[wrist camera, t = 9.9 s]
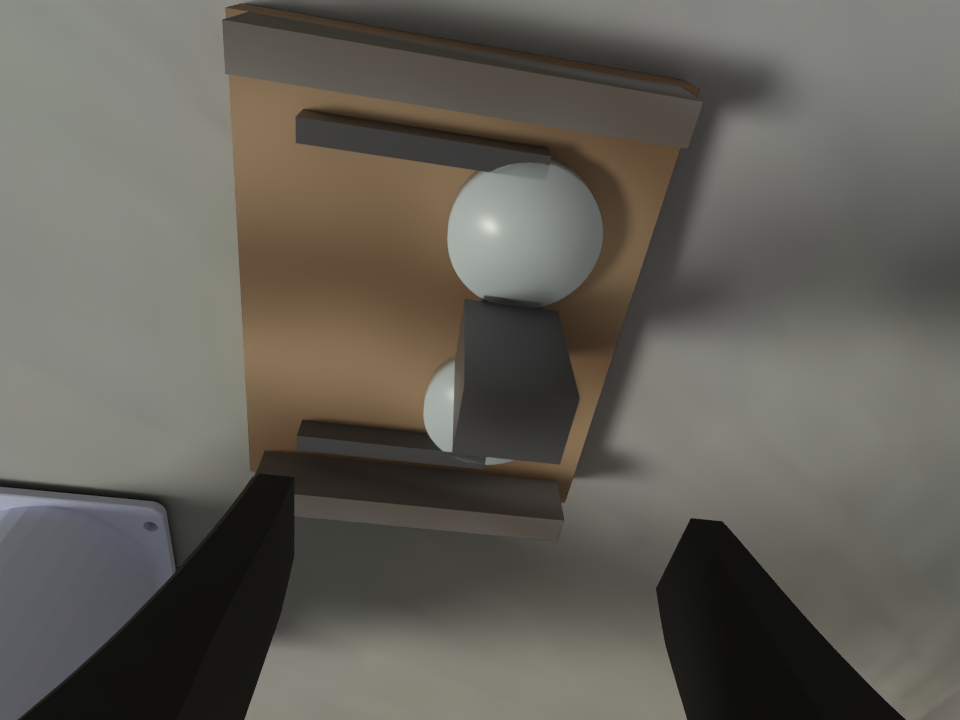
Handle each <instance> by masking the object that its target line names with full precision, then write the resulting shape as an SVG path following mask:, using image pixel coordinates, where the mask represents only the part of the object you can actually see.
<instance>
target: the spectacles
mask: <svg viewBox="0 0 960 720" xmlns="http://www.w3.org/2000/svg"><path fill="white" fill-rule="evenodd" d="M295 121H296V143H298V144H305V145H311V146H318V147H325V148H331V149H338V150H345V151H351V152H358V153H364V154H371V155H378V156H384V157H391V158H398V159H404V160H411V161H417V162H424V163H431V164H437V165H444V166H450V167H457V168H464V169H470V170H477V171H476V172H474V173H473V174H472V175H471V176H470V177H469V178H468V179H467V180H466V181H465V182H464V184H463V185H462V187H461V188H460V190H459V191H458V193H457V195H456V197H455V199H454V201H453V204H452V207H451V210H450V214H449V221H448V237H447V242H448V251H449V256H450V260H451V262H452V265H453V267H454V269H455V271H456V273H457V275H458V276H459V278H460V279H461V281H462V282H463V283H464V284H465V285H466V286H467V287H468V288H469V289H470V290H471V291H472V292H473V293H474V294H476V295H477V296H479V297H480V301H475V300H467V299H465V300H464V306H463V313H462V319H461V325H460V331H459V337H458V344H457V350H456V355H455V356H453V357H451V358H449V359H448V360H447V361H445V362H444V363H443V364H441V365H440V366H439V367H438V368H437V369H436V371H435V372H434V373H433V375H432V376H431V378H430V380H429V382H428V384H427V387H426V392H425V400H424V413H423V417H424V424H425V427H426V430H427V432H428V433H421V432H412V431H402V430H393V429H384V428H375V427H365V426H356V425H347V424H338V423H328V422H319V421H310V420H302V422H301V425H300V427H299V430H298V433H297V450H299V451H309V452H318V453H328V454H338V455H347V456H357V457H367V458H377V459H386V460H396V461H406V462H415V463H425V464H435V465H444V466H454V467H464V468H473V469H483V470H484V466H485V465H495V464H502V463H506V462H510V461H513V460H519V461H529V462H538V463H548V464H557V465H560V463H561V460H562V456H563V453H564V450H565V446H566V443H567V440H568V436H569V433H570V430H571V426H572V423H573V420H574V417H575V413H576V410H577V407H578V403H579V400H580V397H579V393H578V389H577V385H576V381H575V377H574V373H573V369H572V365H571V361H570V357H569V353H568V349H567V345H566V341H565V337H564V333H563V329H562V325H561V321H560V317H559V313H558V311H552V310H544V309H540V308H541V307H542V306H546V305H549V304H552V303H554V302H556V301H559V300H560V299H562V298H564V297H566V296H567V295H569V294H570V293H572V292H573V291H574V290H575V289H577V288H578V287H579V286H580V285H581V284H582V283H583V282H584V281H585V279H586V278H587V277H588V276H589V274H590V273H591V271H592V270H593V268H594V266H595V264H596V262H597V260H598V257H599V254H600V251H601V247H602V241H603V223H602V218H601V214H600V211H599V208H598V205H597V203H596V201H595V199H594V197H593V195H592V193H591V191H590V190H589V188H588V186H587V184H586V183H585V182H584V180H583V179H582V178H581V177H580V176H579V175H578V174H577V173H576V172H575V171H574V170H573V169H571V168H570V167H569V166H567V165H566V164H564V163H562V162H560V161H559V160H556V159H554V158H551V155H550V152H549V150H548V147H543V146H536V145H530V144H523V143H517V142H511V141H504V140H498V139H491V138H485V137H479V136H472V135H466V134H460V133H453V132H447V131H440V130H434V129H428V128H421V127H415V126H408V125H402V124H396V123H389V122H383V121H376V120H370V119H364V118H357V117H351V116H345V115H338V114H332V113H325V112H319V111H313V110H306V109H303V110H302V111H301V112H300V113H299V114H298V115H297V116H296V117H295Z"/></svg>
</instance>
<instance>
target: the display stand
mask: <svg viewBox="0 0 960 720" xmlns="http://www.w3.org/2000/svg"><path fill="white" fill-rule="evenodd" d="M225 9H226V19H223V20H222V22H223V40H224V57H225V74H229V83H230V102H231V120H232V139H233V157H234V176H235V194H236V213H237V231H238V250H239V268H240V287H241V305H242V323H243V342H244V360H245V379H246V397H247V416H248V434H249V453H250V471H253V472H256V474H255V475H257V474H259V473H260V474H269V475H279V476H288V477H295V489H294V516H295V517H305V518H316V519H326V520H337V521H347V522H358V523H369V524H379V525H390V526H400V527H411V528H421V529H432V530H443V531H453V532H464V533H474V534H485V535H495V536H506V537H517V538H527V539H538V540H548V541H558V538H559V535H560V532H561V529H562V526H563V523H564V517H563V511H562V505H561V503H565V501H566V498H567V495H568V492H569V489H570V486H571V482H572V479H573V476H574V473H575V470H576V467H577V464H578V461H579V458H580V455H581V452H582V449H583V446H584V443H585V440H586V437H587V433H588V430H589V427H590V424H591V421H592V418H593V415H594V412H595V409H596V406H597V403H598V400H599V397H600V394H601V391H602V387H603V384H604V381H605V378H606V375H607V372H608V369H609V366H610V363H611V360H612V357H613V354H614V351H615V348H616V345H617V341H618V338H619V335H620V332H621V329H622V326H623V323H624V320H625V317H626V314H627V311H628V308H629V305H630V302H631V299H632V295H633V292H634V289H635V286H636V283H637V280H638V277H639V274H640V271H641V268H642V265H643V262H644V259H645V256H646V253H647V250H648V246H649V243H650V240H651V237H652V234H653V231H654V228H655V225H656V222H657V219H658V216H659V213H660V210H661V207H662V204H663V200H664V197H665V194H666V191H667V188H668V185H669V182H670V179H671V176H672V173H673V170H674V167H675V164H676V161H677V158H678V154H679V151H680V148H685V149H688V147H689V144H690V141H691V138H692V135H693V132H694V129H695V126H696V123H697V120H698V117H699V114H700V111H701V108H702V105H703V101H701V100H700V99H698V98H697V96H698V93H699V89H698V88H696V87H695V86H693V85H691V84H690V83H688V82H686V81H684V80H679V79H673V78H667V77H661V76H656V75H650V74H644V73H638V72H633V71H627V70H621V69H615V68H610V67H604V66H598V65H592V64H587V63H581V62H575V61H569V60H564V59H558V58H552V57H546V56H541V55H535V54H529V53H523V52H518V51H512V50H506V49H501V48H495V47H489V46H483V45H478V44H472V43H466V42H460V41H455V40H449V39H443V38H437V37H432V36H426V35H420V34H414V33H409V32H403V31H397V30H391V29H386V28H380V27H374V26H368V25H363V24H357V23H351V22H345V21H340V20H334V19H328V18H323V17H317V16H311V15H305V14H300V13H294V12H288V11H282V10H277V9H271V8H265V7H259V6H254V5H248V4H242V3H241V4H237V5H233V6H230V7H226V8H225ZM303 109H306V110H313V111H319V112H325V113H332V114H338V115H345V116H351V117H357V118H364V119H370V120H376V121H383V122H389V123H396V124H402V125H408V126H415V127H421V128H428V129H434V130H440V131H447V132H453V133H460V134H466V135H472V136H479V137H485V138H491V139H498V140H504V141H511V142H517V143H523V144H530V145H536V146H543V147H548V150H549V152H550V155H551V158H554V159H556V160H559V161H560V162H562V163H564V164H566V165H567V166H569V167H570V168H571V169H573V170H574V171H575V172H576V173H577V174H578V175H579V176H580V177H581V178H582V179H583V180H584V182H585V183H586V184H587V186H588V188H589V190H590V191H591V193H592V195H593V197H594V199H595V201H596V203H597V205H598V208H599V211H600V214H601V218H602V223H603V241H602V247H601V251H600V254H599V257H598V260H597V262H596V264H595V266H594V268H593V270H592V271H591V273H590V274H589V276H588V277H587V278H586V279H585V281H584V282H583V283H582V284H581V285H580V286H579V287H578V288H577V289H575V290H574V291H573V292H572V293H570V294H569V295H567V296H566V297H564V298H562V299H560V300H559V301H556V302H554V303H552V304H549V305H546V306H542V307H541V308H540V309H544V310H552V311H558V313H559V317H560V321H561V325H562V329H563V333H564V337H565V341H566V345H567V349H568V353H569V357H570V361H571V365H572V369H573V373H574V377H575V381H576V385H577V389H578V393H579V397H580V400H579V403H578V407H577V410H576V413H575V417H574V420H573V423H572V426H571V430H570V433H569V436H568V440H567V443H566V446H565V450H564V453H563V456H562V460H561V463H560V465H557V464H548V463H538V462H529V461H519V460H513V461H510V462H506V463H502V464H495V465H485V466H484V470H483V469H473V468H464V467H454V466H444V465H435V464H425V463H415V462H406V461H396V460H386V459H377V458H367V457H357V456H347V455H338V454H328V453H318V452H309V451H299V450H297V433H298V430H299V427H300V425H301V422H302V420H310V421H319V422H328V423H338V424H347V425H356V426H365V427H375V428H384V429H393V430H402V431H412V432H421V433H428V432H427V430H426V427H425V424H424V417H423V413H424V400H425V392H426V387H427V384H428V382H429V380H430V378H431V376H432V375H433V373H434V372H435V371H436V369H437V368H438V367H439V366H440V365H441V364H443V363H444V362H445V361H447V360H448V359H449V358H451V357H453V356H455V355H456V350H457V344H458V337H459V331H460V325H461V319H462V313H463V306H464V300H465V299H467V300H475V301H480V297H479V296H477V295H476V294H474V293H473V292H472V291H471V290H470V289H469V288H468V287H467V286H466V285H465V284H464V283H463V282H462V281H461V279H460V278H459V276H458V275H457V273H456V271H455V269H454V267H453V265H452V262H451V260H450V256H449V251H448V242H447V237H448V221H449V214H450V210H451V207H452V204H453V201H454V199H455V197H456V195H457V193H458V191H459V190H460V188H461V187H462V185H463V184H464V182H465V181H466V180H467V179H468V178H469V177H470V176H471V175H472V174H473V173H474V172H476V171H477V170H470V169H464V168H457V167H450V166H444V165H437V164H431V163H424V162H417V161H411V160H404V159H398V158H391V157H384V156H378V155H371V154H364V153H358V152H351V151H345V150H338V149H331V148H325V147H318V146H311V145H305V144H298V143H296V121H295V117H296V116H297V115H298V114H299V113H300V112H301V111H302V110H303Z"/></svg>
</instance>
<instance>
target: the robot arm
mask: <svg viewBox="0 0 960 720" xmlns="http://www.w3.org/2000/svg"><path fill="white" fill-rule="evenodd" d="M294 489H295V477H288V476H279V475H269V474H260V473H259V474H257V475H255V476H254V477H252V478H251V480H250V481H249V483H248V484H247V486H246V487H245V488H244V490H243V491H242V492H241V494H240V495H239V496H238V498H237V499H236V500H235V502H234V503H233V504H232V506H231V507H230V508H229V509H228V511H227V512H226V513H225V515H224V516H223V517H222V518H221V519H220V521H219V522H218V523H217V524H216V526H215V527H214V528H213V529H212V530H211V532H210V533H209V534H208V535H207V536H206V538H205V539H204V540H203V541H202V542H201V543H200V544H199V546H198V547H197V548H196V549H195V550H194V551H193V552H192V554H191V555H190V556H189V557H188V558H187V559H186V560H185V562H184V563H183V564H182V565H181V566H180V567H179V568H178V570H177V571H176V568H175V562H174V556H173V550H172V543H171V537H170V531H169V525H168V518H167V512H166V510H165V508H164V507H163V506H162V505H161V504H159V503H157V502H153V501H145V500H134V499H123V498H113V497H102V496H92V495H81V494H71V493H60V492H50V491H39V490H29V489H18V488H8V487H0V720H244V719H245V716H246V713H247V710H248V707H249V704H250V701H251V699H252V696H253V693H254V690H255V687H256V684H257V681H258V678H259V675H260V673H261V670H262V667H263V664H264V661H265V658H266V655H267V652H268V649H269V646H270V644H271V641H272V638H273V635H274V632H275V629H276V626H277V623H278V620H279V617H280V614H281V610H282V606H283V602H284V598H285V594H286V589H287V585H288V581H289V576H290V572H291V567H292V563H293V558H294ZM656 591H657V598H658V604H659V611H660V618H661V623H662V629H663V634H664V640H665V645H666V648H667V652H668V656H669V659H670V663H671V666H672V669H673V673H674V676H675V680H676V683H677V687H678V690H679V693H680V697H681V700H682V703H683V707H684V710H685V713H686V717H687V720H905V719H904V718H903V717H902V716H901V715H900V714H899V713H898V712H897V711H896V710H895V709H894V708H893V707H891V706H890V705H889V704H888V703H887V702H886V701H885V700H884V699H883V698H882V697H881V696H880V695H879V694H878V693H877V692H876V691H875V690H874V689H873V688H872V687H871V686H870V685H869V684H868V683H867V682H866V681H865V680H864V679H863V678H862V677H861V676H860V675H859V674H858V673H857V672H856V671H855V670H854V669H853V667H852V666H851V665H850V664H849V663H848V662H847V661H846V660H845V659H844V658H843V657H842V656H841V655H840V654H839V653H838V652H837V651H836V650H835V649H834V648H833V647H832V646H831V644H830V643H829V642H828V641H827V640H826V639H825V638H824V637H823V636H822V635H821V634H820V633H819V631H818V630H817V629H816V628H815V627H814V626H813V625H812V624H811V623H810V622H809V620H808V619H807V618H806V617H805V616H804V615H803V614H802V613H801V611H800V610H799V609H798V608H797V607H796V606H795V605H794V604H793V602H792V601H791V600H790V599H789V598H788V597H787V596H786V594H785V593H784V592H783V591H782V590H781V589H780V587H779V586H778V585H777V584H776V583H775V582H774V580H773V579H772V578H771V577H770V576H769V575H768V573H767V572H766V571H765V570H764V569H763V568H762V566H761V565H760V564H759V563H758V562H757V561H756V559H755V558H754V557H753V556H752V555H751V554H750V552H749V551H748V550H747V549H746V548H745V547H744V545H743V544H742V543H741V542H740V541H739V540H738V539H737V537H736V536H735V535H734V534H733V533H732V532H731V531H730V529H729V528H728V527H727V526H726V525H725V524H724V523H723V522H722V521H713V520H703V519H694V518H691V519H690V521H689V523H688V525H687V527H686V529H685V531H684V533H683V535H682V537H681V539H680V541H679V543H678V545H677V547H676V549H675V551H674V553H673V555H672V557H671V559H670V561H669V563H668V566H667V568H666V570H665V572H664V574H663V576H662V578H661V580H660V582H659V584H658V586H657V588H656Z"/></svg>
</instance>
